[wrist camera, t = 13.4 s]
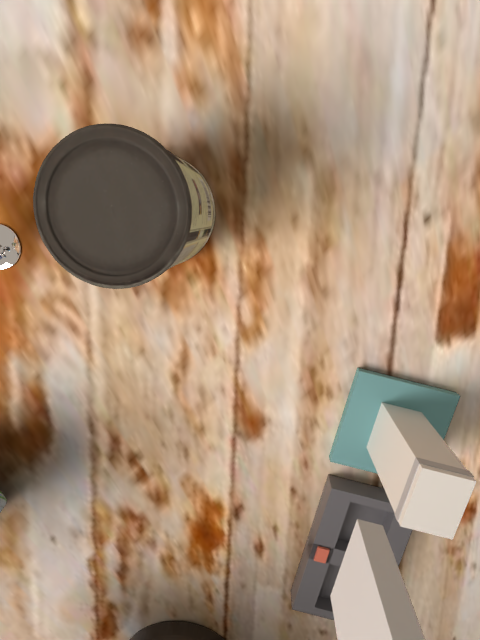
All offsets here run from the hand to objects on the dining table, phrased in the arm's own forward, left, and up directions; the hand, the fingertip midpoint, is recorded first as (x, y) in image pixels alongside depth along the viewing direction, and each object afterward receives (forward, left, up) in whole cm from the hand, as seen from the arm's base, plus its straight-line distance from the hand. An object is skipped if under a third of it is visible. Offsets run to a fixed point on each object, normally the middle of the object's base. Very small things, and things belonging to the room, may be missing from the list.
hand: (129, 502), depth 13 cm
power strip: (-23, -19, -32) cm, 43 cm away
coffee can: (+7, +8, -32) cm, 34 cm away
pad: (-8, -19, -32) cm, 38 cm away
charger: (-8, -19, -31) cm, 37 cm away
